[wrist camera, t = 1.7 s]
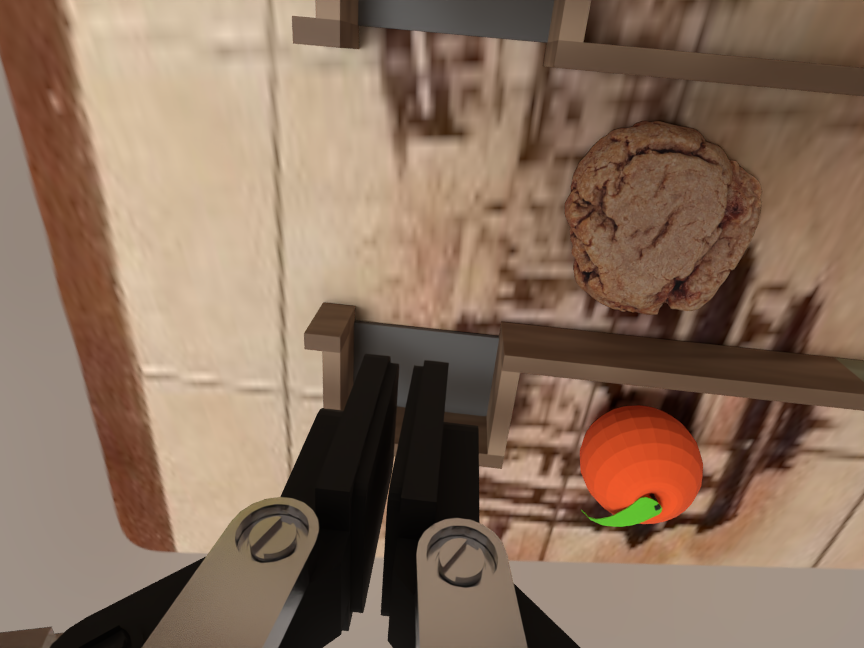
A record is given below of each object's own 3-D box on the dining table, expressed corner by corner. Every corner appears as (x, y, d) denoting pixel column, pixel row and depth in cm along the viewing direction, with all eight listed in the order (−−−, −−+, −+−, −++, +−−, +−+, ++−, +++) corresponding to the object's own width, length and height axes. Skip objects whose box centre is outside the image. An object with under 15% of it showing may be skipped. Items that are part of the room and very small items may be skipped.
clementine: (601, 489, 37) (627, 577, 31) (537, 432, 35) (550, 514, 29) (700, 429, 34) (751, 513, 28) (636, 363, 32) (675, 438, 26)
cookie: (669, 72, 25) (692, 73, 22) (784, 225, 28) (816, 243, 25) (513, 213, 29) (517, 229, 26) (629, 336, 32) (642, 361, 29)
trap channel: (314, -171, 22) (262, -246, 16) (1390, -85, 20) (1714, -136, 15) (325, 407, 35) (298, 469, 30) (965, 480, 34) (1055, 557, 29)
